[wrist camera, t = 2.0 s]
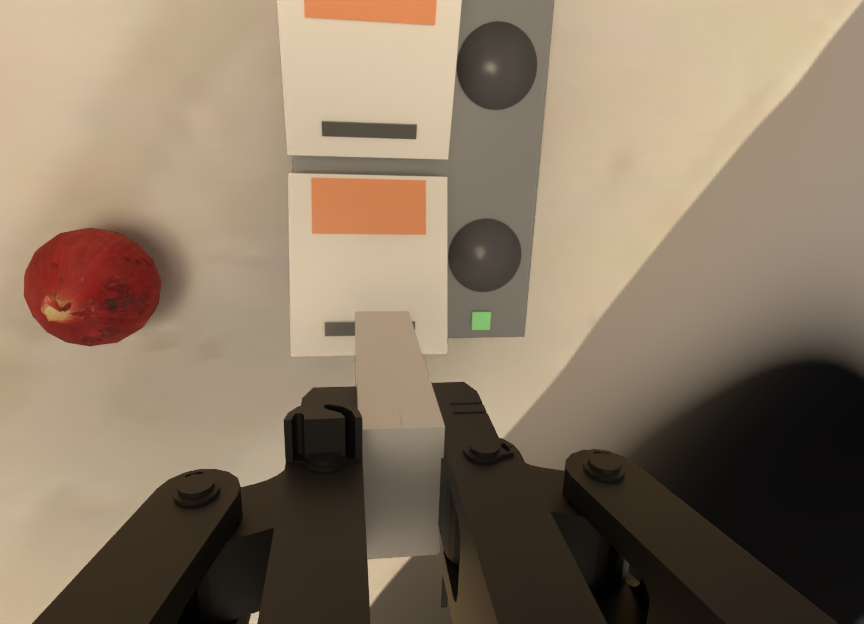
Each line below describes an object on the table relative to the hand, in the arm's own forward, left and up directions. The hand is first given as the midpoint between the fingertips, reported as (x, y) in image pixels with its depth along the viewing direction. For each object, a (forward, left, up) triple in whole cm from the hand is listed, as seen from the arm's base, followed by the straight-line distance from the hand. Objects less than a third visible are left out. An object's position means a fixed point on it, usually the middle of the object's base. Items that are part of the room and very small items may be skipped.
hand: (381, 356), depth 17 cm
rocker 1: (0, +9, -11) cm, 14 cm away
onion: (-14, -2, -19) cm, 23 cm away
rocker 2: (0, 0, -11) cm, 11 cm away
